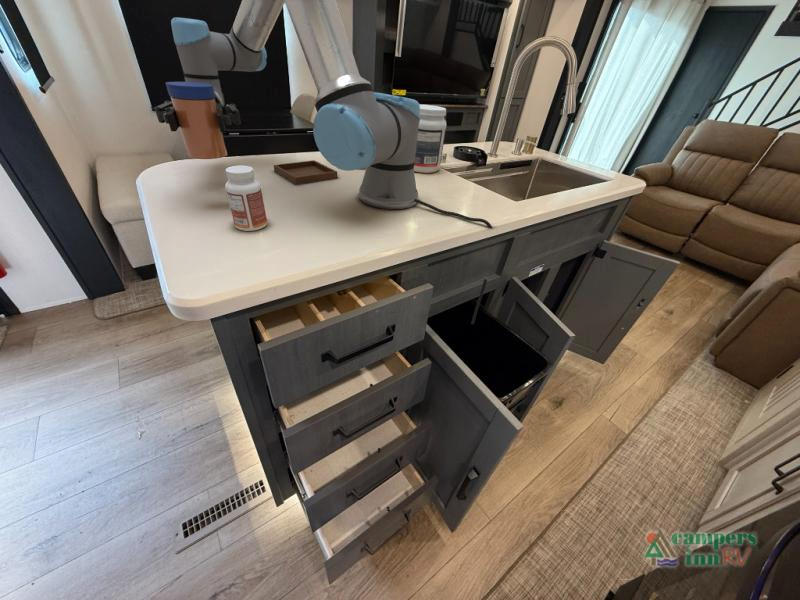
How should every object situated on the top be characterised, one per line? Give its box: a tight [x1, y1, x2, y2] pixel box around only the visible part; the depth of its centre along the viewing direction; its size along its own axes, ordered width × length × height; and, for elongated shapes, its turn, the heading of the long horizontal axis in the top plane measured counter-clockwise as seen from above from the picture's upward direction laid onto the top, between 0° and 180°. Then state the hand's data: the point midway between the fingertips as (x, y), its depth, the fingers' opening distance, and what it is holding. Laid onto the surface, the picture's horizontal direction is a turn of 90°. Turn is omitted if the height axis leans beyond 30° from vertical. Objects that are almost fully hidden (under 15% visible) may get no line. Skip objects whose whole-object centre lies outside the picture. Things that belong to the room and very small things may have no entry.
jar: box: [170, 96, 228, 160], centre depth 62 cm, size 7×7×12 cm
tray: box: [273, 159, 339, 186], centre depth 94 cm, size 13×13×2 cm
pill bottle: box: [224, 165, 268, 232], centre depth 62 cm, size 6×6×11 cm
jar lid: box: [165, 81, 215, 99], centre depth 59 cm, size 8×8×2 cm
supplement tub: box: [414, 103, 447, 174], centre depth 105 cm, size 13×13×18 cm
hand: (196, 123), depth 58 cm, fingers closed on jar, 7 cm apart
